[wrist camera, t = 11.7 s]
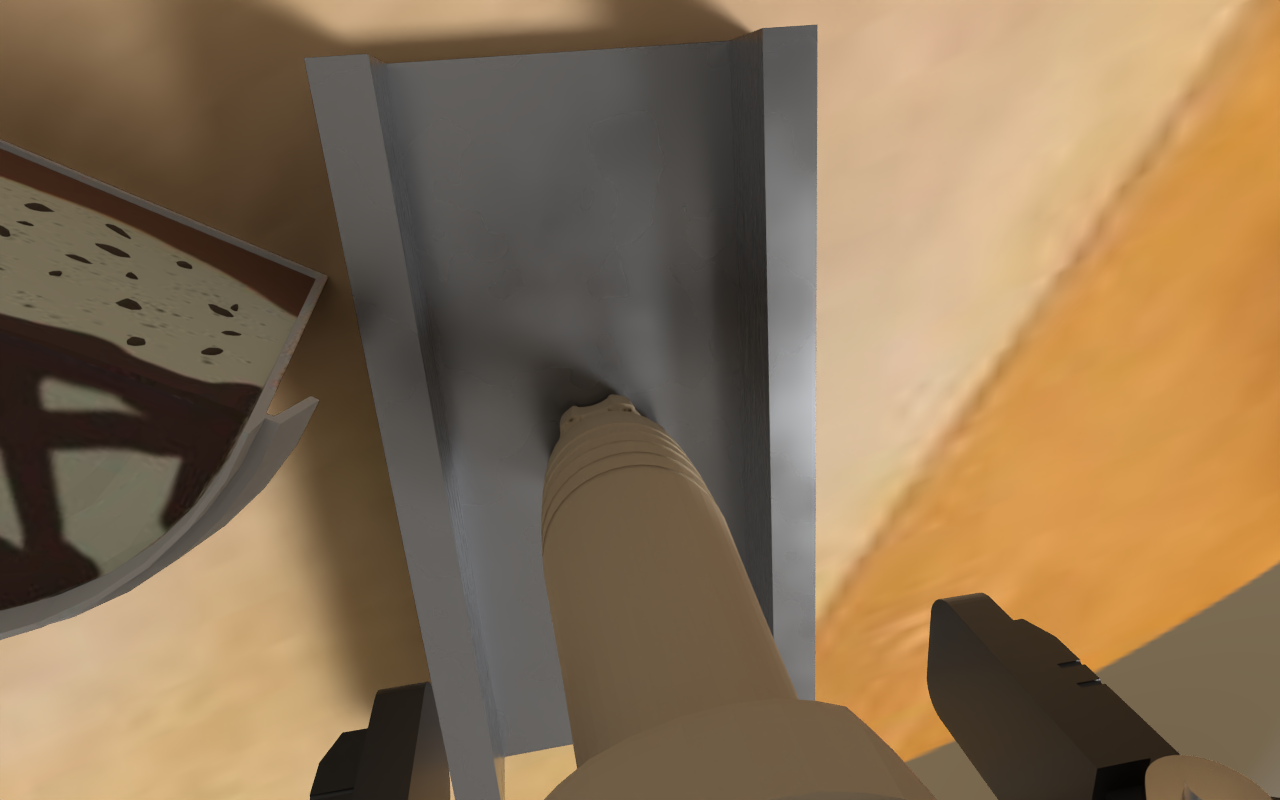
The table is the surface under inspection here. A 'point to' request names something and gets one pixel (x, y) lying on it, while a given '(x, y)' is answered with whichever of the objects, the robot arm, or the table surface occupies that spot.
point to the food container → (129, 385)
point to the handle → (678, 639)
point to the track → (577, 325)
